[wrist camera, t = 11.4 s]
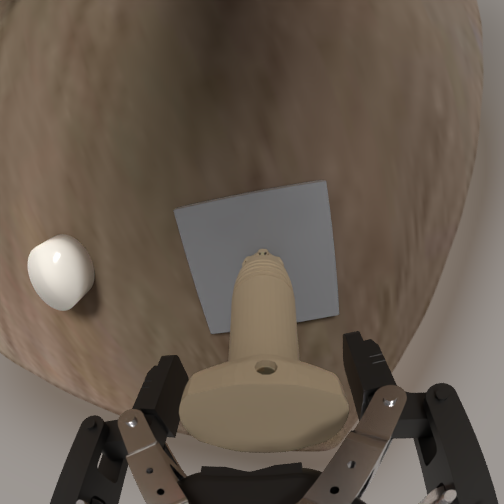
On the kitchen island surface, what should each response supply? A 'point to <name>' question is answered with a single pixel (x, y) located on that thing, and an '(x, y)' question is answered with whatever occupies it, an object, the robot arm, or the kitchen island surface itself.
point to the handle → (263, 374)
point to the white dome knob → (61, 271)
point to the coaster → (262, 246)
